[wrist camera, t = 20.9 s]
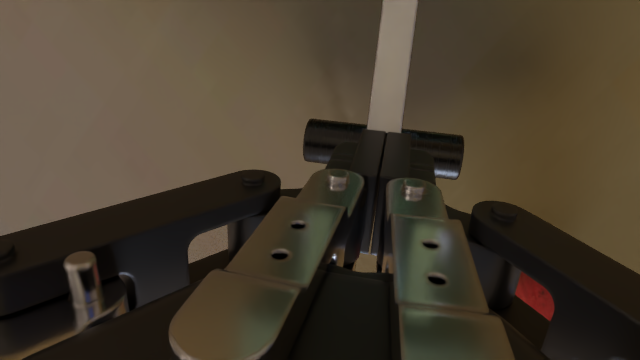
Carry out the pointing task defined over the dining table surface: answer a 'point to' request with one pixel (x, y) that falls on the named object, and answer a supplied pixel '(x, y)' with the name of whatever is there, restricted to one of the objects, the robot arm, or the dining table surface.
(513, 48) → the dining table surface
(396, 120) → the lever
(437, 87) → the dining table surface
